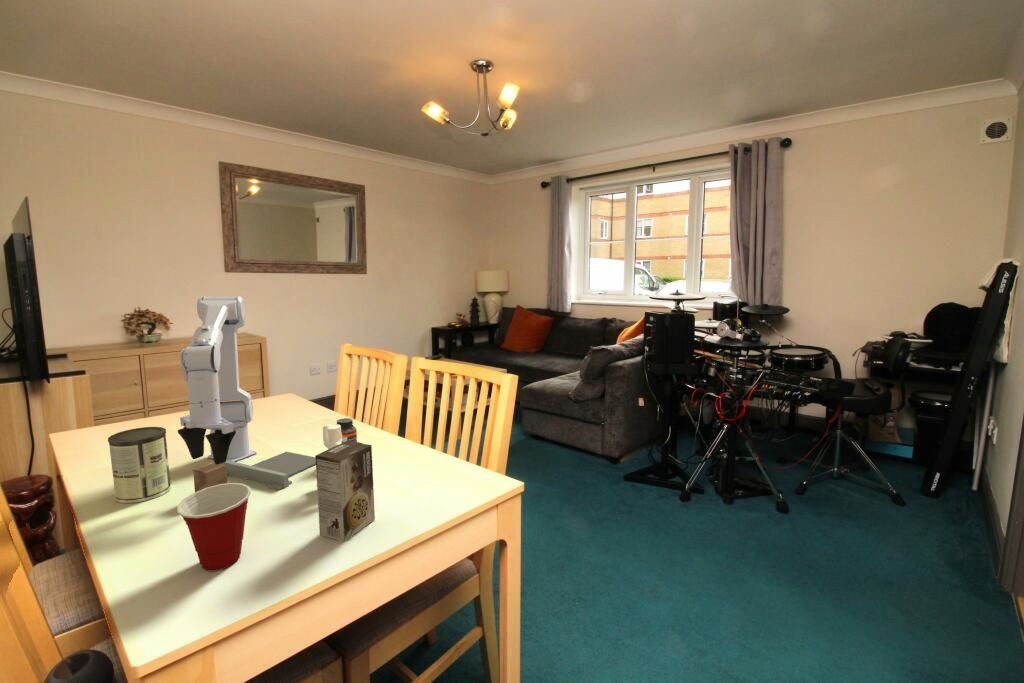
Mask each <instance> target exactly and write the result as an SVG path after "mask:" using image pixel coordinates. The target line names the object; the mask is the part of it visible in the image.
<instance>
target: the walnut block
mask: <svg viewBox="0 0 1024 683" xmlns="http://www.w3.org/2000/svg"><path fill="white" fill-rule="evenodd" d="M192 472H193V473H192V474H193V486H194V493H195V492H197V491H200V490H202V489H205V488H208V487H212V486H215V485H219V484H227V483H228V476H227V470H226V465H222V464H218V465H217V464H215V462H213V461H212V462H210V463H206V464H204V465H202V466H198V467H196V468H193V469H192Z"/></svg>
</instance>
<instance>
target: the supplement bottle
mask: <svg viewBox="0 0 1024 683" xmlns="http://www.w3.org/2000/svg"><path fill="white" fill-rule="evenodd" d="M353 423H354V422H353V419H352V418H351V417H350V418H339V419H337V420H336V424H338V425H340V426H341V433H342V441H341V442H342V443H343V442H345V441H354V442H358V434H357V433H358V432H357V428H356V426H354V425H353Z"/></svg>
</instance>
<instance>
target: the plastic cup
mask: <svg viewBox="0 0 1024 683" xmlns="http://www.w3.org/2000/svg"><path fill="white" fill-rule="evenodd" d="M251 493H252V491H251V487H250V486H249V485H247V484H244V483H241V482H239V483H238V482H227V484H219V485H215V486H212V487H208V488H205V489H202V490H200V491H197V492H195V491H194V492H193V493H191V494H190V495H188V496H186V497H185V498H183V499H182V500H181V501H180V502H179V503H178V505H176V511H177V512H176V513H177V514H178V515H179V516H181V517H182V519H183V521H184V522H185V524H186V526H187V528H188V531H189V535H190V537H191V541H192V543H193V544H192V545H193V546H194V550H195V552H196V553H197V556H198V560H199V564H200V566H201V568H202V569H203V570H205V571H210V572H212V571H220V570H223V569H226V568H227V569H228V568H229V567H231V566H233V565H234V564H236V563H237V562H238V561H239V559H240V558H241V553H242V547H243V540H244V534H245V525H246V524H245V522H246V515H247V510H248V504H249V499H250V498H249V497H250V496H251Z"/></svg>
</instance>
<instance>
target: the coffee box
mask: <svg viewBox="0 0 1024 683" xmlns="http://www.w3.org/2000/svg"><path fill="white" fill-rule="evenodd" d="M372 445H373V444H368V443H367V444H366V443H363V442H358V441H357V442H354V441H345V442H343V443H341V444H339V445H337V446H335V447H333V448H330V449H328V448H327V449H326V450H324V451H322V452H320V453H317V454H316V455H315V456H314V457H316V465H315V470H316V473H315V475H316V474H317V475H316V490H317V508H318V524H319V527H318V528H319V535H320V536H322V537H327V538H330V539H333V540H336V541H341V542H346V541H347V540H350V538H352V537H353V536H354V535H356V534H357V533H358V532H360V531H361V530H362V529H363V528H365V527H366V526H368V525H370V524H371V523H372V522H373V521H375V519H376V515H375V512H376V511H375V495H374V494H375V493H374V492H375V491H374V473H373V471H374V470H373V469H374V468H373V449H372Z"/></svg>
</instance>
